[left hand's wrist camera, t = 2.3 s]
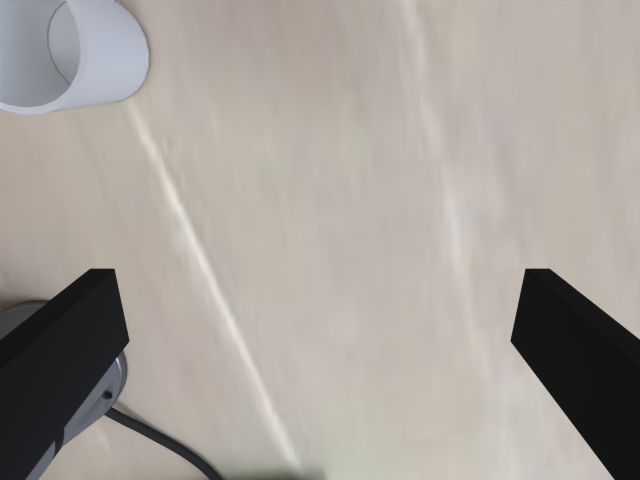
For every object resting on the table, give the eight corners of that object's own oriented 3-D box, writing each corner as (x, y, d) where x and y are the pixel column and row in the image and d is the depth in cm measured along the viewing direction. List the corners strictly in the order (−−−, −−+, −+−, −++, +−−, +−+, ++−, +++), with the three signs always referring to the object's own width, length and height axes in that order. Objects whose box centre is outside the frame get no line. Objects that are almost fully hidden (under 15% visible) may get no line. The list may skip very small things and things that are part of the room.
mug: (130, 128, 34) (58, 143, 25) (30, 68, 33) (-90, 59, 23) (185, 7, 31) (126, -29, 22) (77, -66, 29) (-40, -142, 20)
